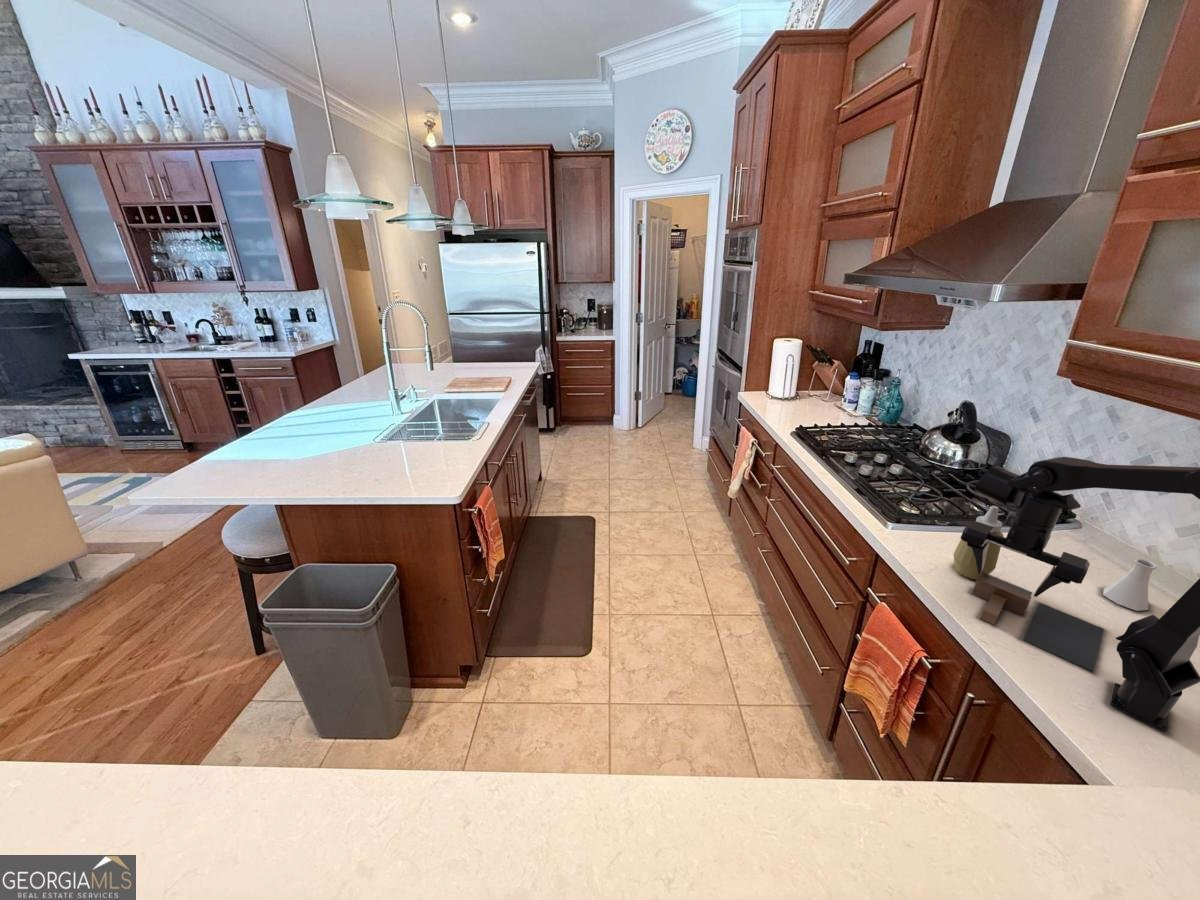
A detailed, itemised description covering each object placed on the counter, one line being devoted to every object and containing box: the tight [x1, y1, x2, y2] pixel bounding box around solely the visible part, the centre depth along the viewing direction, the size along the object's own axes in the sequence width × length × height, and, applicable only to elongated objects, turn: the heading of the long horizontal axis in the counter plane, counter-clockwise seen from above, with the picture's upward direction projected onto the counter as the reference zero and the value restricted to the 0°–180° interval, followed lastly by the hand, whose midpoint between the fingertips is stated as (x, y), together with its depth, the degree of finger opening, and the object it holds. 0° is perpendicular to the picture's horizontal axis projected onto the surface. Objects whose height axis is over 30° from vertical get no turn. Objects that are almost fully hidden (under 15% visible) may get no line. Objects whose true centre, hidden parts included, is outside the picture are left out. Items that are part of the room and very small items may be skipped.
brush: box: [971, 573, 1033, 625], centre depth 100 cm, size 13×9×4 cm
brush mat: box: [1022, 602, 1104, 673], centre depth 94 cm, size 16×10×1 cm, turn 130°
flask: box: [1102, 558, 1158, 612], centre depth 101 cm, size 7×7×10 cm
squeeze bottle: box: [953, 505, 1004, 581], centre depth 108 cm, size 8×8×18 cm
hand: (1006, 583), depth 96 cm, fingers open, 9 cm apart
